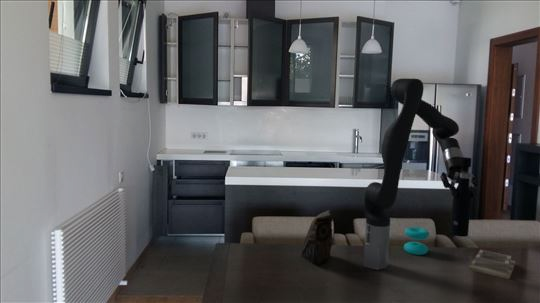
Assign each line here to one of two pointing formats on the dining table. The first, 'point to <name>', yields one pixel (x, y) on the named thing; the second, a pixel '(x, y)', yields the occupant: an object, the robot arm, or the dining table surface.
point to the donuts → (416, 234)
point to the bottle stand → (493, 264)
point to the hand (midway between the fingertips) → (464, 196)
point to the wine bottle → (462, 202)
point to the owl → (318, 240)
